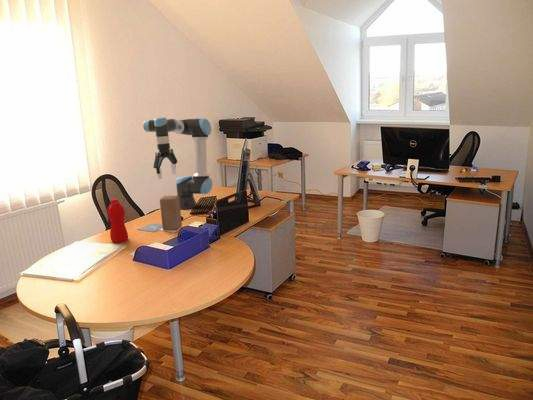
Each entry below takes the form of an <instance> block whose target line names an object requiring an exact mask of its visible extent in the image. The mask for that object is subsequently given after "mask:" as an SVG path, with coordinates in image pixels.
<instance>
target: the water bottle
mask: <svg viewBox="0 0 533 400" xmlns="http://www.w3.org/2000/svg"><path fill="white" fill-rule="evenodd" d="M109 203H110V204H109V206H108V207H107V209H106V210H107V211H106V213H107V216H108V219H109V223H110V233H109V234H110V235H109V238H110V241H111V242H112V243H116V244H117V243H122V242H125V241H127V240H128V239H129V233H128V231H127V227H126V224H125V216H126V215H125V213H126V214H127V218H126V220H128V218H129V215H128V212H127V209H126V208H125V207H124V206H123V204H121V202H120V201H119V199H117V198H112V199H110V201H109Z"/></svg>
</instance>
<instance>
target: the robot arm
mask: <svg viewBox="0 0 533 400" xmlns="http://www.w3.org/2000/svg"><path fill="white" fill-rule="evenodd" d="M142 126H143V130H144V131H145V132H147V133H150V132H151V133H153V132H154V133H155V137H156V143H157V144H156V147H157V150H158V151H157V152H156V151H155V153H154V154H155V155H154V163H153V169H156V175H157V179H159V180H162V179H163V174H162V168H161V166H162V163H163V160H165V159H166V158H167V160H169V162H170V163H171V164H170V166H171V174H172V175H177V171H176V169H177V167H176V165H177V163H178V160H177V157H176V155H175V153H174V149H173V148H171V146H170V145H171V144H170V137H169V133H175V134H179V135H186V136H191V138H192V139H193V144H194V145H193V146H194V147H193V148H194V149H193V151H194V174H192V175H189V174H188V175H183V176H182V175H181V176H179V177H177V178H176V179H175V182H176V183H175V185H176V186H175V187H176V194H177V195H176V196H179V201H180V210H188V209H189V210H190V209H191V210H192V209H194V208H193V207H194V206H195V205H196V204H197V202H196V198H195V196H194V195H195V194H197V195H198V194H199V195H206V194H209V193H210V192H211V190H212V188H213V180H212V178H210V175H209V174H208V168H207V166H208V164H207V163H208V162H207V140H208V138H209V136H210V135H211V133H212V125H211V123H210V121H209V120H208V119H207V118H186V119H176V118H169V119H167V117H156V118H154V119H145V120H144V121H143V123H142Z"/></svg>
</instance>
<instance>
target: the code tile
mask: <svg viewBox="0 0 533 400" xmlns="http://www.w3.org/2000/svg"><path fill="white" fill-rule="evenodd" d="M162 228H163V226H162V223H161V224H160V223H154V222H153V223H151V224H148V225H145V226H143V227H140V228H137V231H143V232H149V233H150V232H151V233H155V232H158V231H160V229H162Z"/></svg>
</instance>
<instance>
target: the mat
mask: <svg viewBox="0 0 533 400" xmlns="http://www.w3.org/2000/svg"><path fill="white" fill-rule="evenodd" d="M184 226H185V225H181V227H180V228H179V229H178V230H163V228H162V229H160V230H159V232H160V231H161V232H167V233H168V232H169V233H176V232H179V231H181V230H182V229H181V228H182V227H184ZM180 229H181V230H180Z"/></svg>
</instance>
